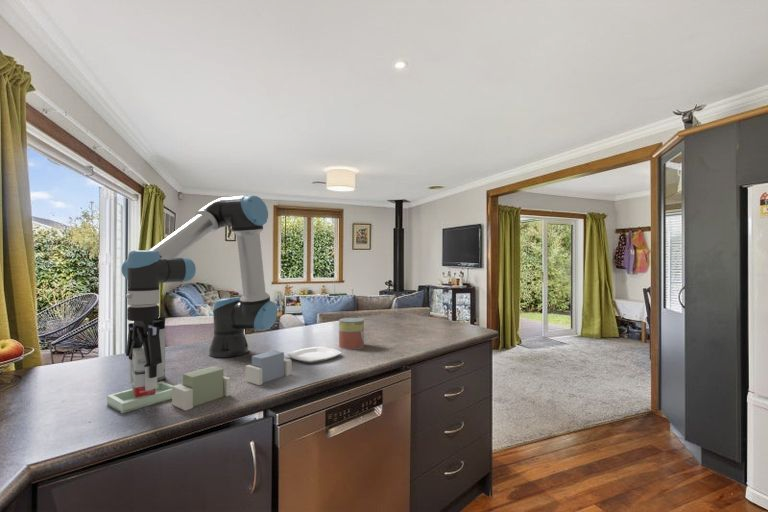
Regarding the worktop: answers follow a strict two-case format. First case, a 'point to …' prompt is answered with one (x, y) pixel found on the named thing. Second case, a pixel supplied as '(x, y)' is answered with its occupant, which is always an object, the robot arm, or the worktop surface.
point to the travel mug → (161, 366)
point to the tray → (139, 398)
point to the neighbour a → (205, 384)
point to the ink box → (139, 373)
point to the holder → (184, 395)
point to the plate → (314, 354)
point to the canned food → (351, 333)
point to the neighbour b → (270, 364)
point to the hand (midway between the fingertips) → (143, 385)
